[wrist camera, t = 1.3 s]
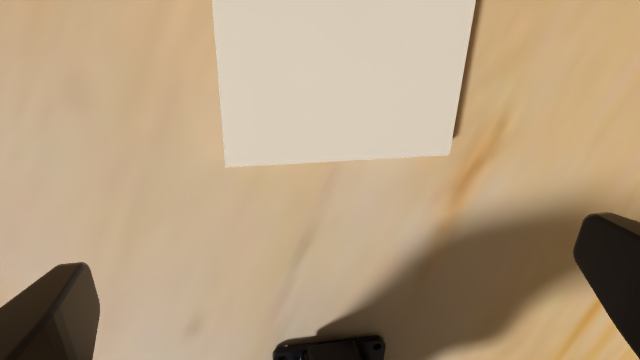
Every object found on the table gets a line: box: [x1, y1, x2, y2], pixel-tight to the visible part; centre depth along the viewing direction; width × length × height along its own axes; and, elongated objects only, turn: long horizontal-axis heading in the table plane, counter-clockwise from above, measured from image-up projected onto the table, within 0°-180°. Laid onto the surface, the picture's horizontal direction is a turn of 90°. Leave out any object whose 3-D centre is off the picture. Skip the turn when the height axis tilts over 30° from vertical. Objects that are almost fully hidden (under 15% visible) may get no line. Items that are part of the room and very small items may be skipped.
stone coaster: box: [212, 0, 476, 168], centre depth 18 cm, size 10×10×1 cm
